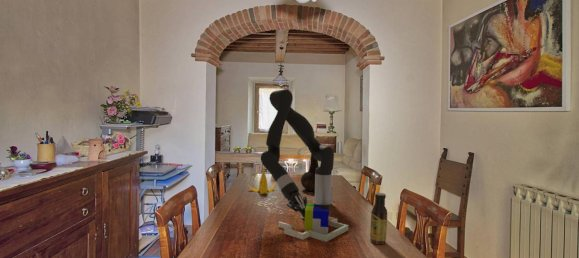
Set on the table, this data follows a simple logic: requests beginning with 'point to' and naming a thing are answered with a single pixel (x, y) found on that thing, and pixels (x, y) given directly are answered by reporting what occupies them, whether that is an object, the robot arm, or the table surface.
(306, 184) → the glass bottle
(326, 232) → the puzzle toy
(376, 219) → the sauce bottle
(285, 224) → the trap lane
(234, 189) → the table surface
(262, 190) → the banana peel
